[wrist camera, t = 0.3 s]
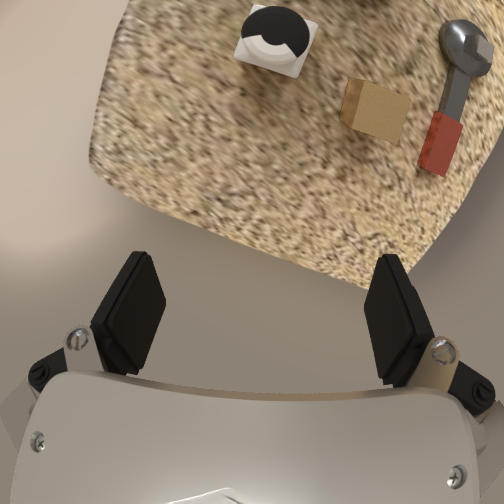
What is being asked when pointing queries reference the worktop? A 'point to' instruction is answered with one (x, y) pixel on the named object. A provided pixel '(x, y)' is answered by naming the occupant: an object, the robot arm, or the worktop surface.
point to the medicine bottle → (275, 39)
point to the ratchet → (454, 90)
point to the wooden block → (374, 110)
